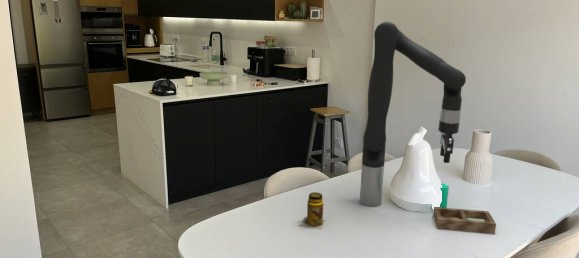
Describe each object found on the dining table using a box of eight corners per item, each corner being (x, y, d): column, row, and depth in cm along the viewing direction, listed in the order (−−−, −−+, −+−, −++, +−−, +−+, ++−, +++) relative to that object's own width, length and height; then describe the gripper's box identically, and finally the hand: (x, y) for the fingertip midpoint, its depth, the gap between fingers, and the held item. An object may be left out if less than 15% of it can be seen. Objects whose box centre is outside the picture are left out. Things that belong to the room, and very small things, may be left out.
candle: (447, 212, 180) (450, 185, 177) (432, 211, 181) (434, 183, 178) (445, 206, 186) (448, 179, 183) (430, 205, 187) (433, 178, 184)
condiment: (321, 228, 165) (322, 199, 162) (299, 225, 168) (300, 196, 165) (325, 220, 172) (326, 192, 169) (304, 217, 175) (305, 189, 172)
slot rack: (437, 228, 166) (438, 219, 165) (433, 216, 177) (434, 206, 176) (494, 233, 163) (496, 224, 162) (487, 220, 174) (488, 211, 173)
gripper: (437, 115, 181) (432, 153, 185) (442, 123, 168) (437, 164, 172) (456, 116, 180) (451, 154, 184) (463, 125, 167) (457, 165, 171)
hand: (444, 159), depth 178 cm, fingers open, 8 cm apart
